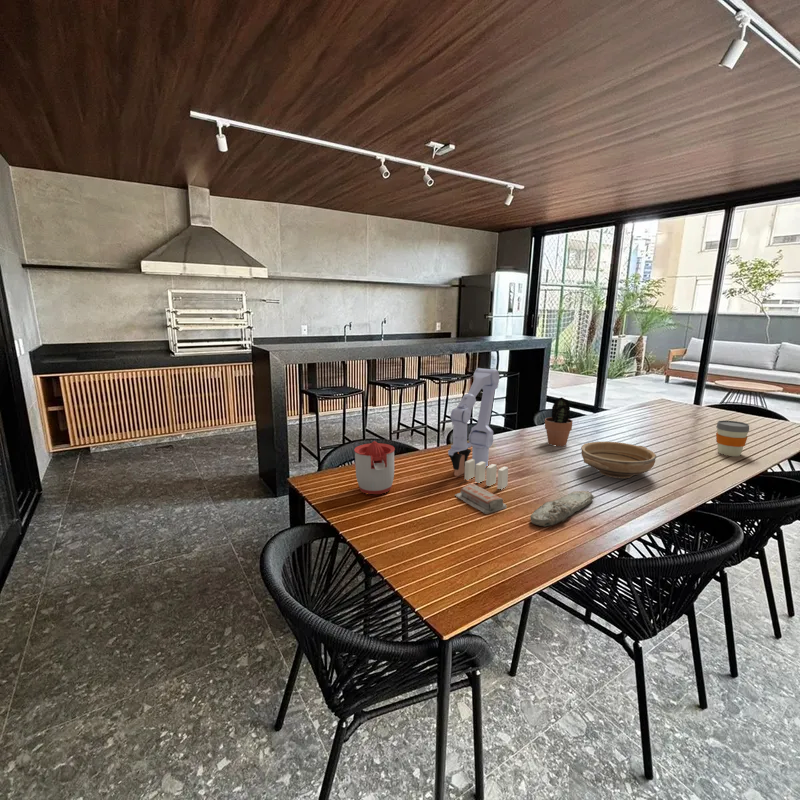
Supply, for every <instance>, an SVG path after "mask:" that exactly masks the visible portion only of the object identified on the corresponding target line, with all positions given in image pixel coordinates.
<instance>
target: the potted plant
mask: <svg viewBox="0 0 800 800" xmlns="http://www.w3.org/2000/svg"><path fill="white" fill-rule="evenodd" d="M570 411H571V407H570V404H569V401H568V400H567V399H565V398H564V397H559V398H557V399H555V400H554V402H553V405H552V407H551V416H550V417H546V418H544V429H545V430H546V438H547V443H549V444H548V445H550V444H552V445H556V446H555V447H558V446H561V447H565V446H567V444H568V439H569V436H570V432H571V431H573V430H572V428H573V420H572V418H571V419H570ZM552 445H551V446H552ZM564 445H565V446H564Z"/></svg>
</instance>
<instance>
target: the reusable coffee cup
mask: <svg viewBox="0 0 800 800" xmlns="http://www.w3.org/2000/svg"><path fill="white" fill-rule="evenodd" d="M749 432H750V424H748V423H746V422H742V421H736V420H718V421H717V423H716V433H715V434H716V436H715V437H716V439H715V440H716V441H715V442H716V443H717V453H718V452H719V453H718V454H720V453H721V454H720V455H723V454H724V456H727V455H729V456H728V457H741V456H740V455H742V453H743V448H744V447H746V444H747V440H748V433H749Z"/></svg>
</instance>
